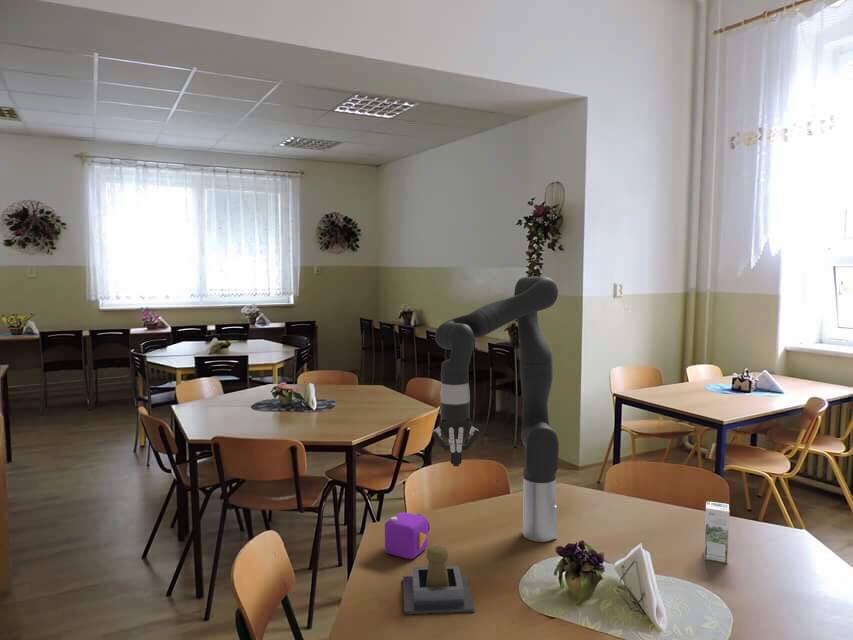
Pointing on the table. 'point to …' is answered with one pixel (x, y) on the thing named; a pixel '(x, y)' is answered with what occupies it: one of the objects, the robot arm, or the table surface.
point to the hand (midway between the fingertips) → (455, 465)
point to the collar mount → (436, 593)
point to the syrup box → (716, 532)
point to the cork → (437, 567)
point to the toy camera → (406, 535)
